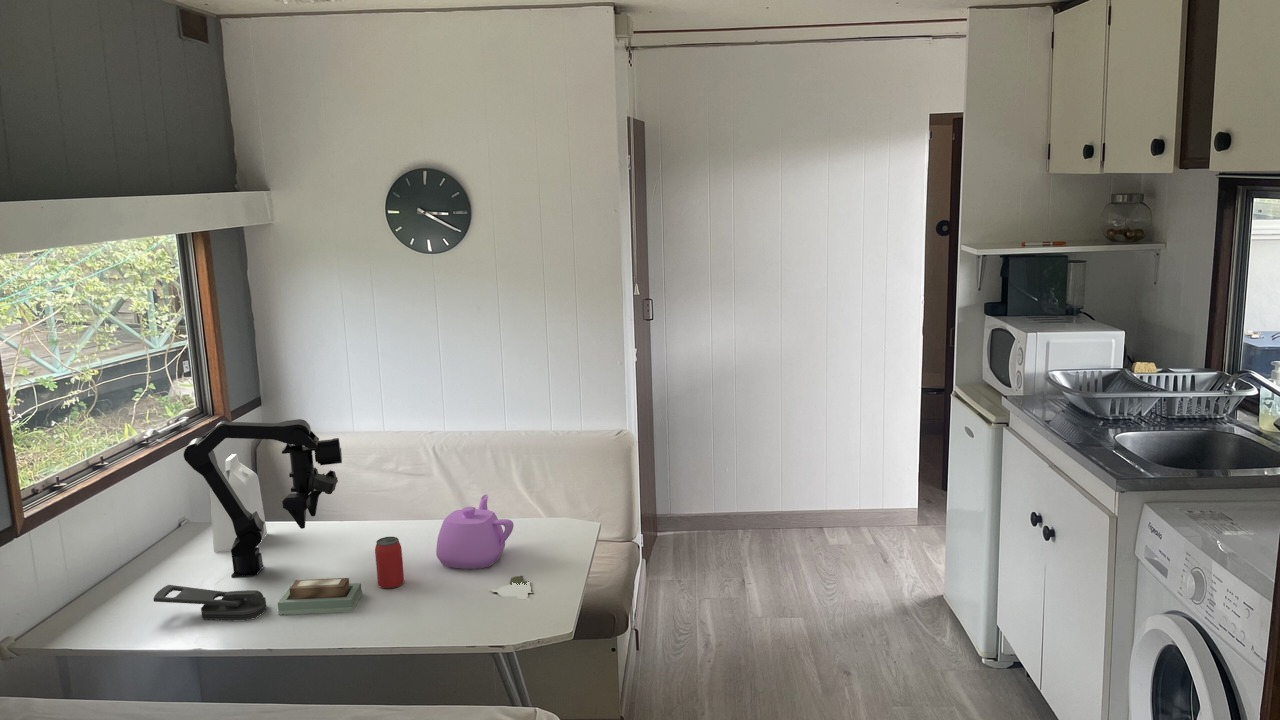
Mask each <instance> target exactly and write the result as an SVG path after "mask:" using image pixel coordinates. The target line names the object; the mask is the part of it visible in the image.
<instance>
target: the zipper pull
mask: <svg viewBox="0 0 1280 720" xmlns="http://www.w3.org/2000/svg"><path fill="white" fill-rule="evenodd" d="M175 591H176V592H179V593H177V595H176V596H174V597H169V596H168V595H169V594H170V593H172V592H175ZM167 596H168V597H167ZM220 597H221V599H220ZM217 598H219V599H217ZM153 602H156V603H171V604H172V603H174V604H175V603H176V604H190V605H191V604H193V605H195V604H196V605H203V606H201V607H200V611H201V617H202V621H234V620H245V621H248V620H247V619H250V620H253V619H252V618H254V619H257V618H258V617H257V616H259V615H260V614H262V613H263V612H264V611H265V612H266V611H267V599H266V597H265V596H264V594H263V593H262V591H259V590H258V589H257V590H256V589H254V590H246V589H245V590H231V591H222V590H221V591H220V590H213V589H206V588H196V587H191V586H190V587H189V586H188V587H187V586H182V585H173V584H166V585H165V586H163V587H162V588H161V589H160V590H158V591H157V592H156V593H155V595H154V596H153ZM265 612H264V613H265ZM264 613H263V614H264ZM263 614H262V615H263ZM260 616H261V615H260ZM260 616H259V617H260ZM256 617H257V618H256Z"/></svg>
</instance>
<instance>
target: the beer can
mask: <svg viewBox="0 0 1280 720" xmlns="http://www.w3.org/2000/svg"><path fill="white" fill-rule="evenodd" d="M375 543H376V544H375V547H374V556H375V566H376V577H377V579H376V580H377V585H378V587H379V588H381V589H386V590H388V589H389V590H390V589H395V588H398V587H401V586H402V585H403V584H404V582H405V576H404V561H403V552H402V545H401V543H400V541H399V538H398V537H397V536H384V537H381V538H378V539H377V540H376V541H375Z"/></svg>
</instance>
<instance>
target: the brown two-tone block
mask: <svg viewBox="0 0 1280 720" xmlns="http://www.w3.org/2000/svg"><path fill="white" fill-rule="evenodd" d="M349 579H350V578H349V577H337V578H335V577H334V578H315V579H296V580H295V581H294V582H293V584H292V585H290V586H291V587H290V586H289V587H290V589H289V588H288V589H289V590H290V599H291V600H294V599H316V598H339V597H347V595H348V594H349V592H350V587H349V584H350V580H349Z"/></svg>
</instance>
